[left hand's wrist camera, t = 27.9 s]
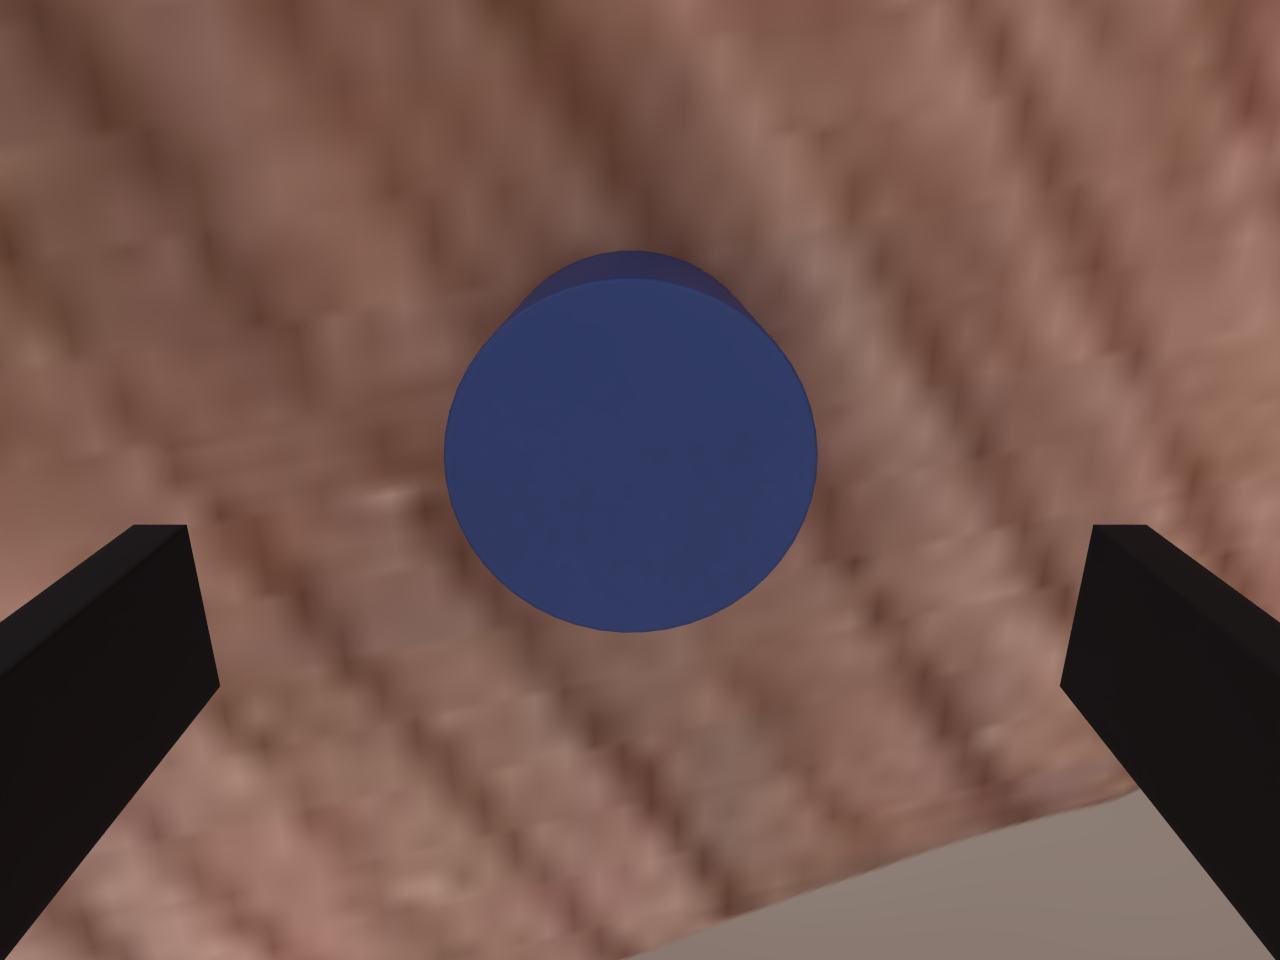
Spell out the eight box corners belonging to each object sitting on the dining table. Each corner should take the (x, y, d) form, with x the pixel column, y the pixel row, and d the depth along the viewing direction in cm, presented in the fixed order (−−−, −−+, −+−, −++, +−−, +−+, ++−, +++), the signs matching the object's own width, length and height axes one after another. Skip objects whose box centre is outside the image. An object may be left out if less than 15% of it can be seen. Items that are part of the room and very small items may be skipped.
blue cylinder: (437, 407, 28) (368, 488, 21) (614, 187, 26) (607, 189, 18) (645, 568, 30) (650, 695, 23) (825, 377, 28) (896, 449, 20)
